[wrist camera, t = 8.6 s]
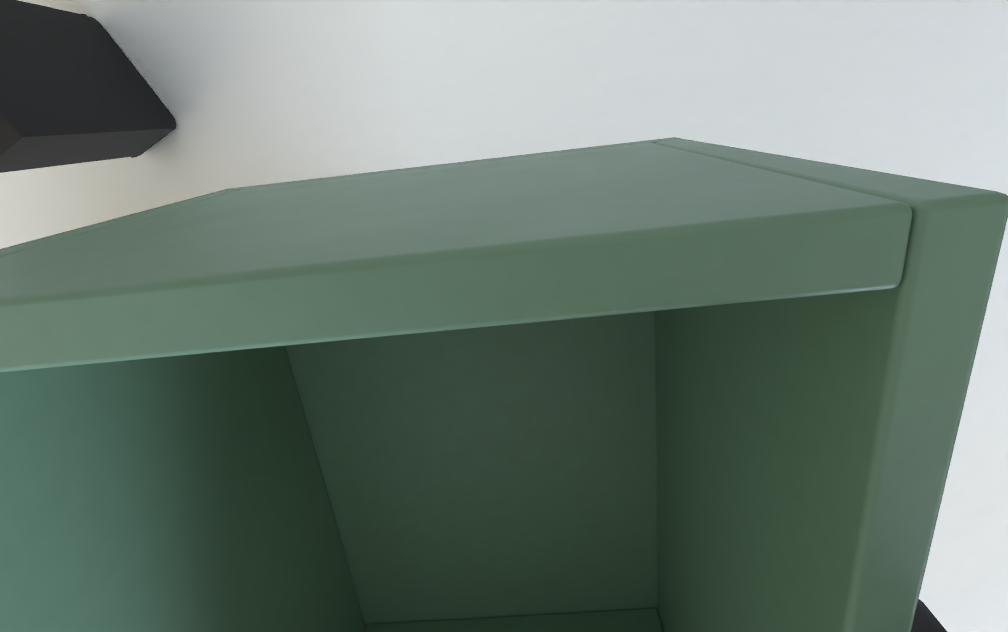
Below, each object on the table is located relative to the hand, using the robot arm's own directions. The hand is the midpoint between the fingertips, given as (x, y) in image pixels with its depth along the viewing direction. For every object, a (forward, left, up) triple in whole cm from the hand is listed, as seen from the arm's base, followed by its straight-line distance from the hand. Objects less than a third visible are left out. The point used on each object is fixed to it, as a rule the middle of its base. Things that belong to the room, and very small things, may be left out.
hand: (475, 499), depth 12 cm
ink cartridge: (+15, -11, -14) cm, 23 cm away
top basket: (0, 0, -4) cm, 4 cm away
